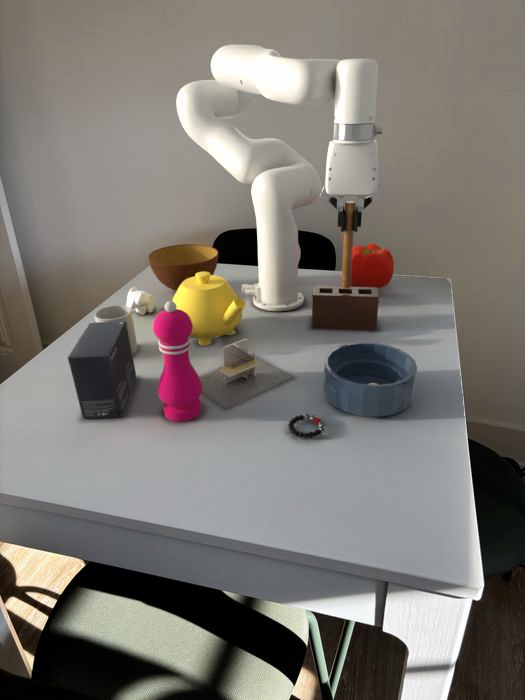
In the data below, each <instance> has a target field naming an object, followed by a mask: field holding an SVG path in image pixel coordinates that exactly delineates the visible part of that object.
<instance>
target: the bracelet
mask: <svg viewBox="0 0 525 700" xmlns="http://www.w3.org/2000/svg"><path fill="white" fill-rule="evenodd" d="M304 419H306V420H309V419H310V421H313V423H314V424H315V425H318V428H317V429H316V430H313V431H309V432H302V431H299V430H297V429H296V427H295V424H296V423H297V422H299V421H304ZM288 430H289V431H290V432H291V434H292V435H294V436H295V437H298V438H300V439H301V438H304V439H308V438H313V437H315V438H316V437H317V436H320V435H321V434H322V432H324V431H325V423H324V422H323V421H322V419H321V418H320V417H317V416H315V414H311V415H310V413H309V414H308V413H306V414H304V415H303V414H300V415H296V416H295V417H292V418H291V419H290V420H289V421H288Z"/></svg>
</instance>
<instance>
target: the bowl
mask: <svg viewBox="0 0 525 700" xmlns="http://www.w3.org/2000/svg"><path fill="white" fill-rule="evenodd" d="M218 261H219V252H218V250H217V249H216V248H215V247H213V246H209V245H206V244H198V243H197V244H195V243H187V244H175V245H169V246H164V247H161V248H158V249H155V250H153V251H152V252H151V253H150V254H148V262H149V265H150V269H151V271H152V272H153V274H154V276H155V277H156V278H157V280H158V281H159V283H161V284H162V285H163V286H165V287H166V288H168V289H170V290H173V291H174V292H175V293H176V292H177V290H178V288H179V286H180V285H181V283H182V282H183V281H184V280H186V279H188V278H190V277H194V276H196V275H195V274H196V273H198V272H209V273H210V275H214V274H215V272H216V269H217V266H218Z"/></svg>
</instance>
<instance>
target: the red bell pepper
mask: <svg viewBox="0 0 525 700" xmlns="http://www.w3.org/2000/svg"><path fill="white" fill-rule="evenodd" d="M394 270H395V263H394V257H393V256H392V253H391V251H390V250H388V249H386V248H381V247H380V246H379V245H377V244H376V243H368V244H367V245H364V246H363V245H354V246H353V256H352V275H351V287H377V288H378V290H379V289H382V288H384V287H386V286H388V285H389V284H390V283H391V281H392V279H393V276H394Z"/></svg>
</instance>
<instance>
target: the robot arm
mask: <svg viewBox="0 0 525 700" xmlns="http://www.w3.org/2000/svg"><path fill="white" fill-rule="evenodd" d="M210 71H211V75H212V76H213V78H214V79H206V80H205V79H204V80H203V79H202V80H194V81H191V82H189V83H186V84H185V85H183V86H182V87H181V88H180V89H179V91H178V93H177V95H176V99H175V100H176V102H175V105H176V112H177V116H178V119H179V121H180V124H181V126H182V128H183V129H184V131H185V133H186V134H187V135H188V137H189V138H190V139H191V140H192V141H193V142H194V143H196V144H197V145H198V146H199V147H201V148H202V149H203V150H204V151H206V152H207V153H208V154H209V155H210V156H211V157H213V159H215V161H216V162H218V164H219V165H221V166H222V168H224V169H225V170H226V172H228V173H229V174H230V175H231V176H232V177H233V178H235V180H237V181H238V182H239V183H241V184H244V185H251V192H250V193H251V199H252V204H253V209H254V213H255V220H256V221H255V222H256V234H257V235H256V236H257V238H256V239H257V240H256V241H257V265H258V266H257V267H258V281H257V283H254V284H241V293H244V296H253V297H252V303H253V305H254V306H255V307H257V308H259V309H261V310H263V311H269V312H287V311H292V310H296V309H298V308H300V307H301V306H302V305H304V302H305V297H304V295H303V294H302V293H301V292H299V291H298V289H299V286H298V285H299V263H298V244H299V230H298V226H297V222H296V219H295V218H294V216H293V213H292V211H293V210H295V209H299V208H303V207H306V206H308V205H311V204H313V203H314V202H316V201H317V200H318V198H319V199H321V200H322V201H325V202H327V203H329V204H331V206H333V207H334V209H335V210H336V211H337V227H338V228H340V232H342V233H344V229H345V205H344V197H357V199H356V200H357V203H356V205H355V214H354V233H358V228H361V227H362V215H363V211H364V210H365V209H366V208H367V207H368V206H369V205H371V203H375V202H377V201H379V200H382V198H383V194H382V191H381V189H380V186H379V145H378V140H376V139H375V137H376V136H378V135H382V134H383V126H379V125H377V124H376V123H375V122H376V110H377V94H378V80H379V64H378V62H377V61H376V59H374V58H345V59H336V58H335V59H334V58H333V59H330V58H328V59H327V58H290V57H283V56H281V54H280V53H279V52H278V51H277V50H275V49H272V48H265V47H263V46H261V45H258V44H257V45H256V44H226V45H223V46H221V47H220V48H218V49H217V50H216V51H215V52H214V54H213V55H212V57H211V60H210ZM259 95H260V96H261V95H262V96H263V97H264V98H265V99H268V100H271V101H274V102H279V103H284V104H289V105H295V106H309V105H321V104H322V105H325V104H334V115H333V116H334V119H333V121H334V122H333V140H330V141H329V143H328V148H327V155H326V166H325V182H324V185H323V184H322V180H321V177H320V175H319V173H318V171H317V169H315V167H314V166H313V164H311V163H310V162H309V161H308V160H307V159H306V158H304V157H303V156H302V155H301V154H299V153H298V152H297V151H296V150H295V149H294V148H293V147H291V146H290V145H288V143H286V142H285V141H283V140H281V139H279V138H275V137H265V138H259V139H255V138H254V139H253V138H249V137H248V136H246V135H244V134H243V133H242V132H241V131H240V130H239V129H238V128H237V127H235V126H234V125H233V124H231V123H229V122H227V121H225V120H223V119H233V118H236V117H238V116H240V115H241V114H243V113H244V112H245V111H246V110H247V109H248V108H249V107H250V106H251V104H252V103H253V102H254V101H255V100H256V99H257V97H258V96H259ZM322 185H323V186H322Z"/></svg>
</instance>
